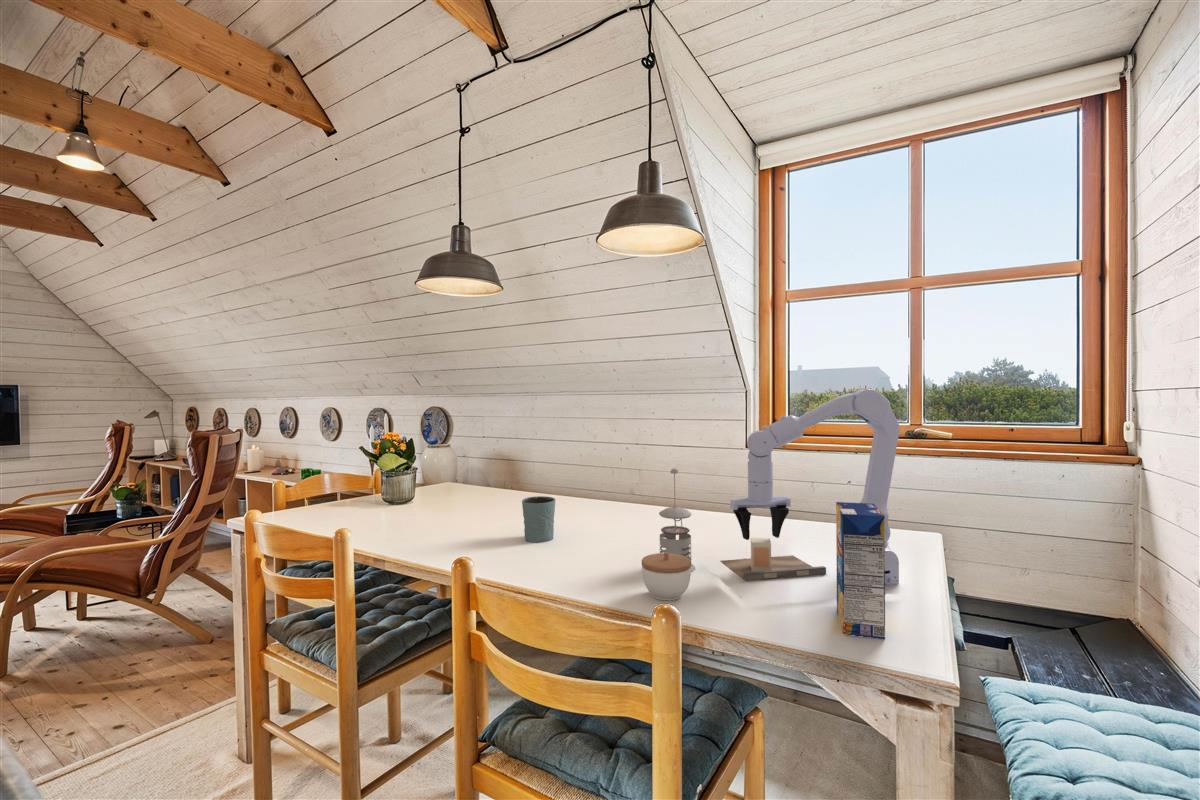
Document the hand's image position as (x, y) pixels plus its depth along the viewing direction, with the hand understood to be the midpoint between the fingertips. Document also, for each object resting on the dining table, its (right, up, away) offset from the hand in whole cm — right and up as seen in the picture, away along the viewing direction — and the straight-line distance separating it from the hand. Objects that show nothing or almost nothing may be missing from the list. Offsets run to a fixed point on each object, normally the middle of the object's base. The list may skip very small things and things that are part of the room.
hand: (761, 537), depth 133 cm
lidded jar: (-24, -10, -12) cm, 29 cm away
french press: (-19, -9, +7) cm, 23 cm away
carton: (0, -8, 0) cm, 8 cm away
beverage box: (+10, -10, -28) cm, 32 cm away
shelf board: (+3, -9, +2) cm, 9 cm away
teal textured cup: (-57, -9, +35) cm, 67 cm away
